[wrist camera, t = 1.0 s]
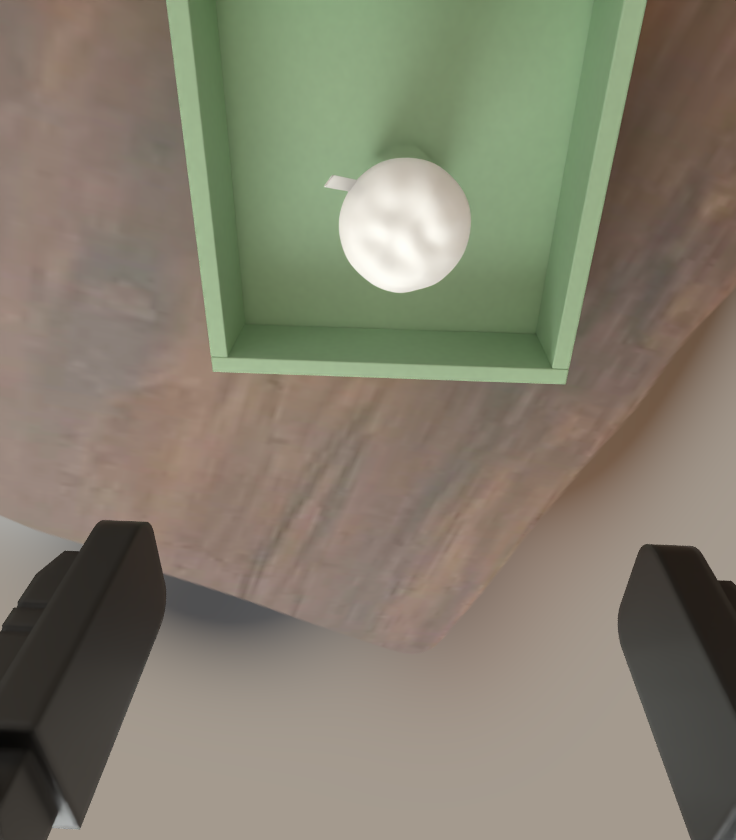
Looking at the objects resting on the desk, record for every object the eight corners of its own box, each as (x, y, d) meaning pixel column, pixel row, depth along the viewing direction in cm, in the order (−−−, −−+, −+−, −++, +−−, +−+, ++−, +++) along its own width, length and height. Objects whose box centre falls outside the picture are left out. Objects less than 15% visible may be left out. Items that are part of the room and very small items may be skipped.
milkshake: (382, 89, 26) (375, 115, 18) (473, 174, 28) (507, 235, 20) (318, 176, 28) (285, 237, 20) (407, 251, 30) (411, 337, 22)
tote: (194, -56, 25) (156, -73, 21) (618, -48, 24) (661, -64, 20) (234, 332, 33) (212, 372, 29) (546, 343, 33) (566, 384, 29)
